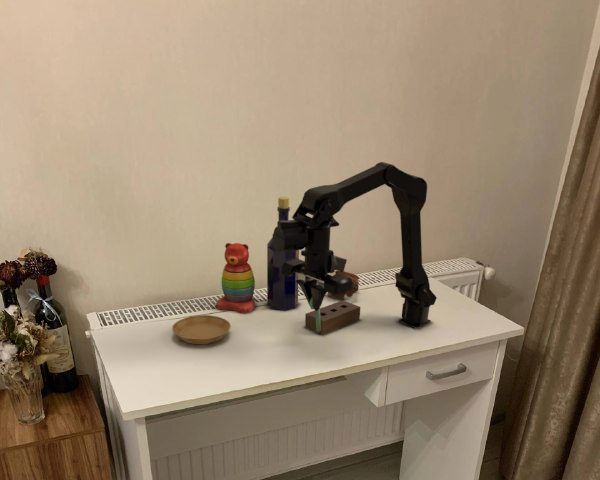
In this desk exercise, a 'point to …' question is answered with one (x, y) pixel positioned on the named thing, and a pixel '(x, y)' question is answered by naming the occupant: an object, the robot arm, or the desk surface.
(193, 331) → the plant saucer
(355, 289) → the pottery mug
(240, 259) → the stacking bear
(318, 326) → the spoon
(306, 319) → the holder
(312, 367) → the desk surface
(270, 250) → the bottle
